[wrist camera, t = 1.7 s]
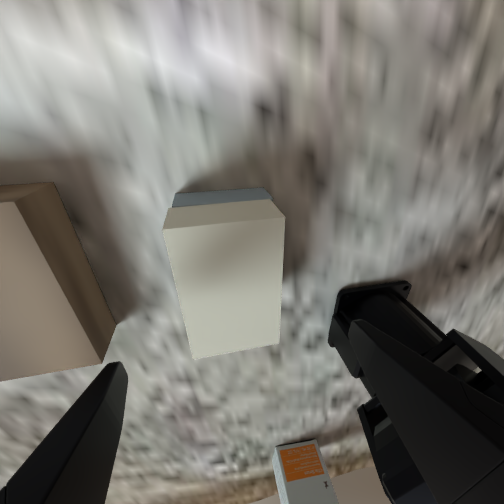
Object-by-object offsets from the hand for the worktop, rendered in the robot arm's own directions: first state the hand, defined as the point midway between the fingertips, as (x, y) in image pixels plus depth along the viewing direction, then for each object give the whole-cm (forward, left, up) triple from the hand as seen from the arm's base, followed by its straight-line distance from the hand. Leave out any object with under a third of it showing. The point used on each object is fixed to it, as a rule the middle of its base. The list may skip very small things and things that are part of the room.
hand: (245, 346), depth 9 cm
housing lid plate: (0, 0, -5) cm, 5 cm away
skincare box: (-7, +33, -8) cm, 34 cm away
